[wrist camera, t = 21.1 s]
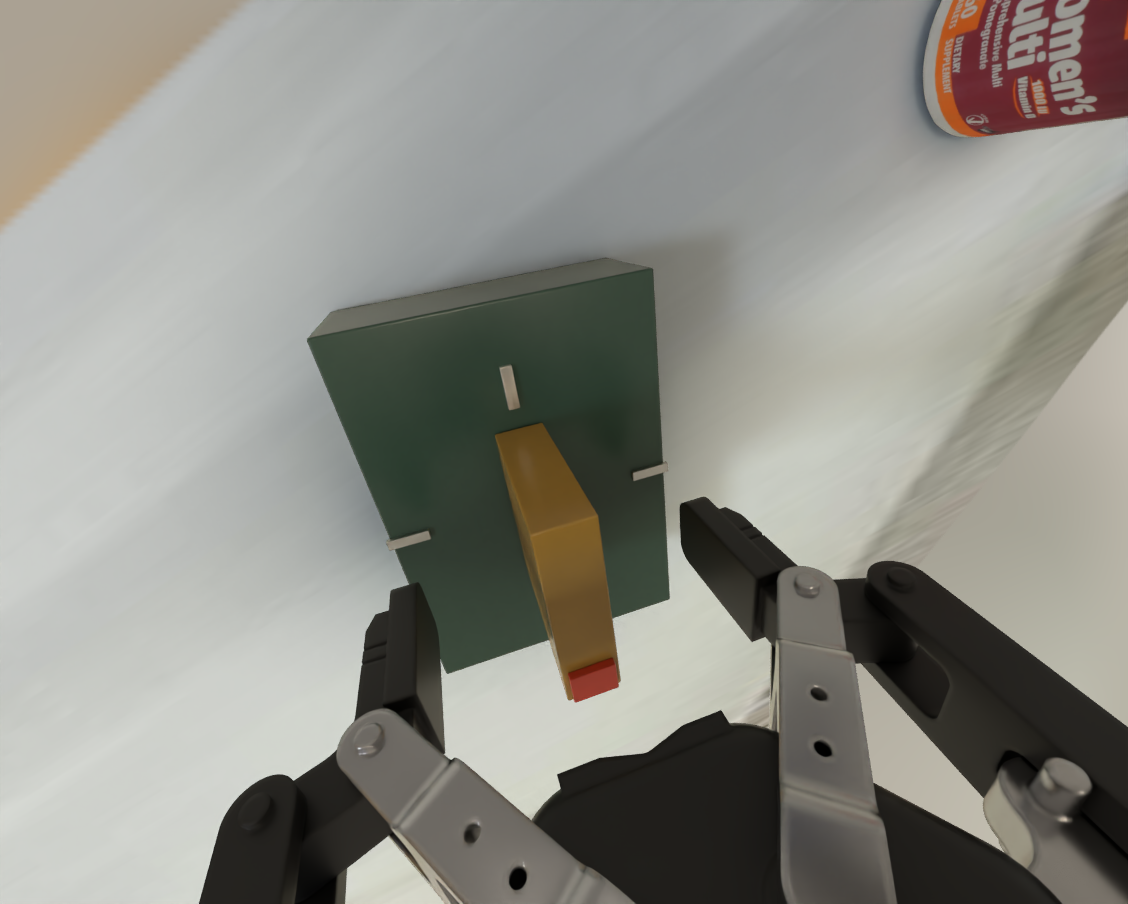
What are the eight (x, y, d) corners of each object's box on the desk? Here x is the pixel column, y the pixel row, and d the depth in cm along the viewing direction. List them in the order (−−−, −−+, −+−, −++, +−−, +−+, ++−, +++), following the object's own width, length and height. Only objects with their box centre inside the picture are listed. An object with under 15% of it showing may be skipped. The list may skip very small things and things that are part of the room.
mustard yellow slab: (494, 433, 15) (532, 542, 10) (542, 421, 15) (602, 521, 10) (528, 572, 18) (570, 709, 13) (568, 560, 18) (624, 689, 13)
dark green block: (326, 312, 16) (300, 341, 12) (610, 256, 17) (659, 267, 14) (439, 605, 23) (444, 679, 19) (636, 544, 24) (674, 601, 21)
